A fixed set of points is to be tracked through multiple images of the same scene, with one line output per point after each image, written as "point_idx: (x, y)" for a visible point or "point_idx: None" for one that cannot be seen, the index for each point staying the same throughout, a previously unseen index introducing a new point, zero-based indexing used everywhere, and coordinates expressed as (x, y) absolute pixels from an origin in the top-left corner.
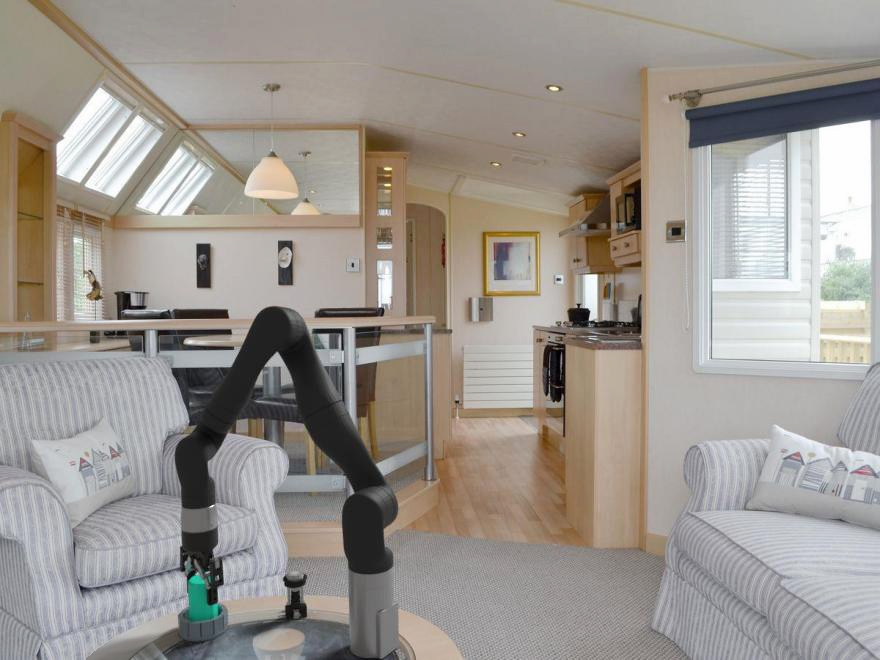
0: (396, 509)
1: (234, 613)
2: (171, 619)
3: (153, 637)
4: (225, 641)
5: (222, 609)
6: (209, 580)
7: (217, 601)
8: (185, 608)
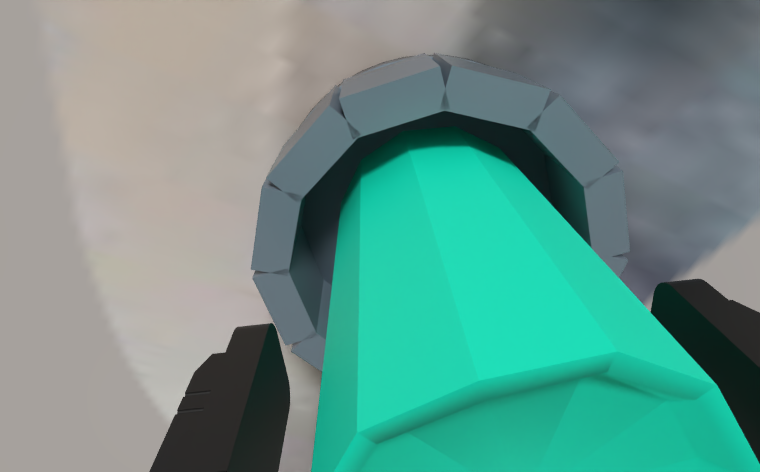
0: None
1: None
2: (150, 290)
3: (317, 409)
4: (654, 163)
5: (508, 122)
6: (592, 435)
7: (736, 302)
8: (281, 329)
